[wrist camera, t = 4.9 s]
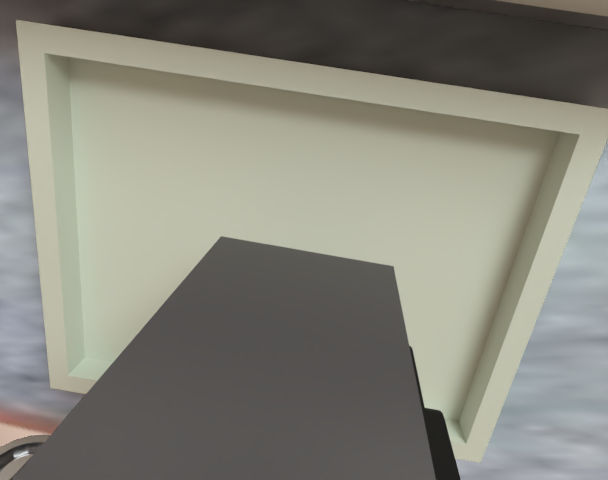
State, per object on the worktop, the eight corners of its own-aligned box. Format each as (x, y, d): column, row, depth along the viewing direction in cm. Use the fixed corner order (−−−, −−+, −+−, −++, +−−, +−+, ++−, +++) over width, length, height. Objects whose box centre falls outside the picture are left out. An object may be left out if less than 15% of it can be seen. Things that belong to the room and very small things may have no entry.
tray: (585, 105, 14) (618, 110, 12) (468, 428, 19) (480, 462, 17) (53, 25, 14) (15, 19, 13) (75, 360, 19) (50, 387, 18)
